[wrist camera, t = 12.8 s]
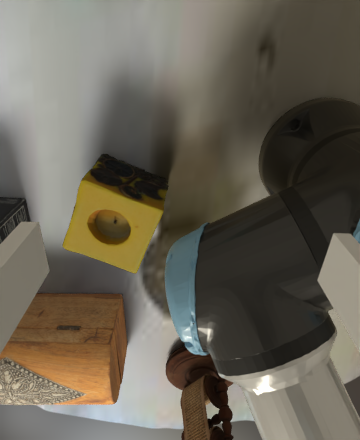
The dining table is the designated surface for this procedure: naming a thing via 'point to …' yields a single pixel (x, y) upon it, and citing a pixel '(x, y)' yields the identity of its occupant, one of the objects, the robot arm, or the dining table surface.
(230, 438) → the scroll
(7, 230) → the small box
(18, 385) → the wooden box
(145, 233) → the candle
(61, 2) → the dining table surface
